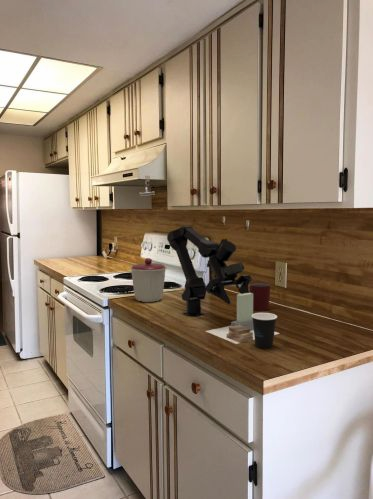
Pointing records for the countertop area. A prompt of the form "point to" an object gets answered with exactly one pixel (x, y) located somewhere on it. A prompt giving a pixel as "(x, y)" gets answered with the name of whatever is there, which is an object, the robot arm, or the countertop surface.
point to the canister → (148, 281)
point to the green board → (244, 307)
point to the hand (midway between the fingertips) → (239, 302)
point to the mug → (260, 296)
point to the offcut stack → (240, 334)
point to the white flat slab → (225, 330)
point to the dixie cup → (264, 329)
